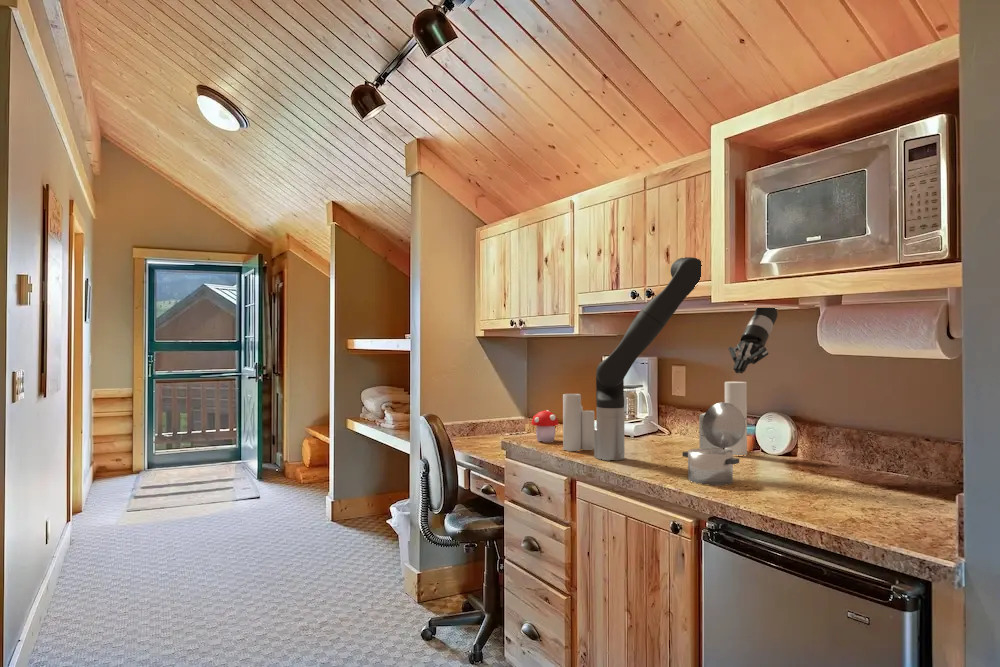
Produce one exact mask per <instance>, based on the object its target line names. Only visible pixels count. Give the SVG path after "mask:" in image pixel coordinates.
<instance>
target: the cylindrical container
mask: <svg viewBox="0 0 1000 667" xmlns="http://www.w3.org/2000/svg"><path fill="white" fill-rule="evenodd" d="M747 384H748V383H747V381H725V382H724V403H729V404H732V405H734V406H736V407H737V408H738V409H739V410H740V411H741V412H742V414H743V416H744V419H745V432H744V435H743V437H742V439H741V440H740V441H739V442H738V443H737V444H736V445H734V446H732V447H729V448H724V449H726V450H732V453H733V455H738V456H739V455H747V456H748V418H747V417H748V415H747V414H748V409H747V408H748V406H747V405H748V404H747V402H748V400H747V398H748V397H747V396H748V395H747V393H748V392H747V391H748V390H747V388H748V387H747V386H748V385H747Z"/></svg>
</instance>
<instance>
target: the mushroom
mask: <svg viewBox="0 0 1000 667" xmlns="http://www.w3.org/2000/svg"><path fill="white" fill-rule="evenodd" d="M530 425H532V426H536V427H535V428H536V429H535V434H536V441H537V440H538V441H537V442H539V441H543V442H542V443H553V442H555V438H556V428H555V427H556V426H558V425H559V420H558V417H557V416H556V415H555V414H554V413H553V412H552V411H550V410H548V409H546V410H545V409H544V410H541V411H539V412H536V414H535V415H533V417H532V420H531V423H530ZM552 441H553V442H552Z"/></svg>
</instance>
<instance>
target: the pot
mask: <svg viewBox="0 0 1000 667" xmlns="http://www.w3.org/2000/svg"><path fill="white" fill-rule="evenodd" d="M682 457H685V458H687V480H688V479H689V480H690V481H689V480H688V481H689V482H691V481H692V482H691V483H694V482H696V483H695V484H698V483H702V484H701V485H704V484H709V485H708V486H726V485H725V484H728V485H731V484H733V483H734V480H733V479H734V473H733V472H734V468H733V465H737V464H740V458H739V457H738V458H737V457H734V456H733V453H732V450H726V449H725V448H724V449H719V448H715V449H700V448H693V449H689V450H686V451H683V452H682ZM732 482H733V483H732ZM730 483H731V484H730Z"/></svg>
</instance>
